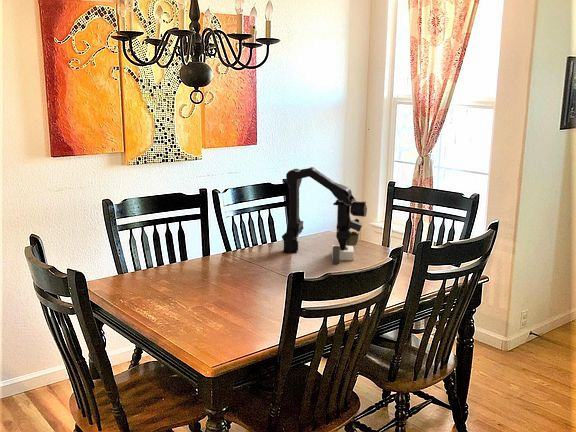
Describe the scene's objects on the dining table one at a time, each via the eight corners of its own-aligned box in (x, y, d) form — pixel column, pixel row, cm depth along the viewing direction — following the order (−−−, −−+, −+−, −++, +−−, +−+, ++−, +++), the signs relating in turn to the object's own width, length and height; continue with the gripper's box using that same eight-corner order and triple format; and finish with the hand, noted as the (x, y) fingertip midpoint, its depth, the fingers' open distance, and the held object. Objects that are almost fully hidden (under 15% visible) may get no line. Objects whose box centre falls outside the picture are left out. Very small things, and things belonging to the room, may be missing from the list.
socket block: (331, 259, 271) (331, 251, 270) (332, 253, 281) (332, 245, 280) (353, 260, 270) (353, 251, 269) (353, 254, 280) (353, 245, 279)
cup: (340, 247, 290) (340, 231, 289) (353, 245, 294) (353, 230, 292) (348, 251, 284) (348, 235, 282) (361, 249, 287) (361, 233, 285)
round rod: (332, 264, 264) (332, 247, 262) (332, 262, 267) (333, 245, 265) (339, 264, 263) (339, 247, 262) (339, 262, 266) (339, 245, 265)
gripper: (362, 220, 261) (360, 253, 265) (360, 210, 279) (359, 242, 283) (336, 219, 262) (335, 253, 266) (336, 210, 280) (336, 242, 284)
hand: (342, 247), depth 274 cm, fingers open, 9 cm apart
